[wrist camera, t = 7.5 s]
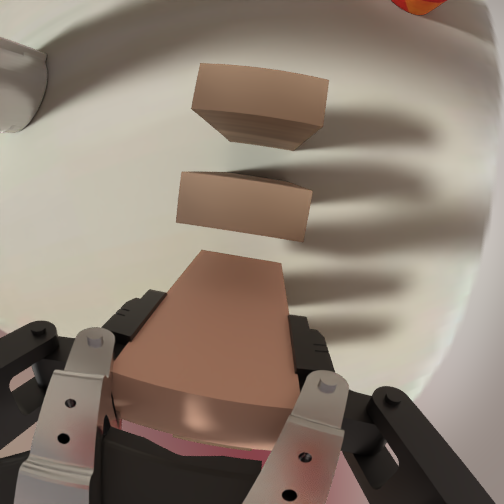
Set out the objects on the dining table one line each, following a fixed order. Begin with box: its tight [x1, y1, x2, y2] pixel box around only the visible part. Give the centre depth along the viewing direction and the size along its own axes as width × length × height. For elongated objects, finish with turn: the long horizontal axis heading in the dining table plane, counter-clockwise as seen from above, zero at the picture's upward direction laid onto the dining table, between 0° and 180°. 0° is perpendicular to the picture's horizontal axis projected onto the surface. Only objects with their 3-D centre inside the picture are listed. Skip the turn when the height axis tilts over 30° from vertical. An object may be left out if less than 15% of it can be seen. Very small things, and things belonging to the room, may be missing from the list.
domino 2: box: [176, 172, 313, 242], centre depth 16 cm, size 2×5×12 cm, turn 81°
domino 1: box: [191, 63, 329, 151], centre depth 15 cm, size 2×5×12 cm, turn 81°
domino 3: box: [111, 250, 300, 451], centre depth 12 cm, size 2×5×12 cm, turn 81°
